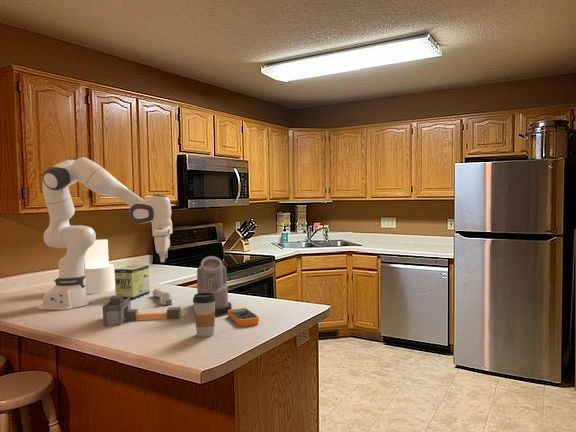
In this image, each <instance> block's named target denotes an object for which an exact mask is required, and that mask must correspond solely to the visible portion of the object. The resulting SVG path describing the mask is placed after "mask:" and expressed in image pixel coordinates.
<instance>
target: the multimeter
mask: <svg viewBox="0 0 576 432" xmlns="http://www.w3.org/2000/svg"><path fill="white" fill-rule="evenodd" d="M227 316H228V318H229V319H231V320H232V321H233V322H235V323H236V325H238V326H239V327H244V328H245V327H251V326H257V325H258V324H260V323H259V321H260V319H259V318H260V317H259V316H258V315H257V314H256V313H254V312H253V311H251V310H250V309H249V308H247V307H240V308H239V307H237V308H232V309H231V310H228V315H227Z"/></svg>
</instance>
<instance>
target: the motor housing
mask: <svg viewBox="0 0 576 432" xmlns="http://www.w3.org/2000/svg"><path fill="white" fill-rule="evenodd" d="M130 309H132V307H131V300H130V297H128V298H127V299H126V300H123V295H120V296H116V295H113V296H111V297H110V298H109V301H108V302H106V303H105V304H104V305H103V306H102V320H103V321H102V323H103V324H102V325H103V326H104V327H106V326H112V325H113V326H115V325H118V326H121V325H123V324H124V322H125V319H126V311H127V310H130Z"/></svg>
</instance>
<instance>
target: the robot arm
mask: <svg viewBox="0 0 576 432" xmlns="http://www.w3.org/2000/svg"><path fill="white" fill-rule="evenodd" d="M41 178H42V192H43V198H44V201H45V205H46V208H47V213H48V216H49V225H48V227H47V228H46V229H45V230H44V232H43V241H44V243H45V245H46V246H48V247H52V248H56V249H66V253H65V256H63V257H62V258H60V260H59V262H58V277H57V278H55V279H53V281H54V282H53V283H55V285H54V286H53V287H52V288H50V289H49V290H48V291H47V292H46V293H45V294H44V295H43V298H42V303H41V304H39V305H38V306H37V310H40V311H42V310H44V311H45V310H47V311H48V310H50V311H51V310H52V311H53V310H56V311H58V310H60V311H61V310H62V311H64V310H65V311H66V310H70V309H71V310H72V309H75V308H79V307H84V306H87V305H89V304H90V301H89V298H88V294H87V293H86V288H85V286H86V278H85V275H84V258H85V255H86V252H87V250H88V249H89V248H90V247H91V246H92V245H93V244H94V242H95V240H97V238H96V237H97V236H96V235H97V234H96V231H95V230H94V228H92V227H91V226H87V225H82V224H81V225H71V224H70V219H71V218H72V217H73V216H74V215H75V213H76V212H75V211H76V209H75V205H74V202H73V199H72V195H71V192H70V187H71V186H72V185H74V184H76V183H78V182H79V183H81V184H83V186H85V187H86V188H87V189H88V190H90V191H92V192H94V193H96V194H97V195H99V196H100V195H101V196H103V197H104V196H105V197H112V198H115V199H118V200H120V201H122V202H124V203H125V205H127V206H129V207H130V208H129V210H128V211H129V212H128V215H129V219H130V220H131V221H132V222H133V223H135V224H139V225H140V224H141V225H143V224H147V223H151V231H152V232H151V233H152V237H153V239H154V246H155V247H154V248H155V252H156V253H157V254H159V259H160V263H165V262H166V259H167V258H168V254H169V253H168V251H169V250H168V249H169V248H170V247H171V240H170V237H171V235H172V234H173V221H172V218H171V217H172V204H171V201H170V197H168V196H167V195H165V194H160V193H159V194H158V193H157V194H156V193H154V194H151V196H149V197H148V198H146V199H145V198H143V197H141V196H139V194H137V193H136V192H134V191H133V190H132V189H130V188H128V187H127V186H125V185H124V184H123V183H122V182H121V181H119V180H118V179H117V178H116V177H115V176H114V175H113V174H111V173H110V172H109V171H108V170H106V169H105V168H104V167H102V165H100V164H98V163H97V162H95V161H93V160H92V159H90V158H87V157H85V156H84V157H74V158H73V157H72V158H69V159H66V160H63V161H61V162H58V163H57V164H54V165H53V166H50V167H48V168H46V170H44V172H43V173H42V177H41Z"/></svg>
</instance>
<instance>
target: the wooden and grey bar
mask: <svg viewBox="0 0 576 432" xmlns="http://www.w3.org/2000/svg"><path fill="white" fill-rule="evenodd" d="M138 309H139V308H135V309H134V308H133V309H132V308H131V309H130V310H127V311H126V318H125V322H136V321H150V320H152V319H154V320H180V318H181V317H182V315H184V314H185V311H184V309H183V310H181V306H171V307H170V306H169V307H168V308H167V309H166V311H158V312H155V311H154V312H139V310H138Z"/></svg>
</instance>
